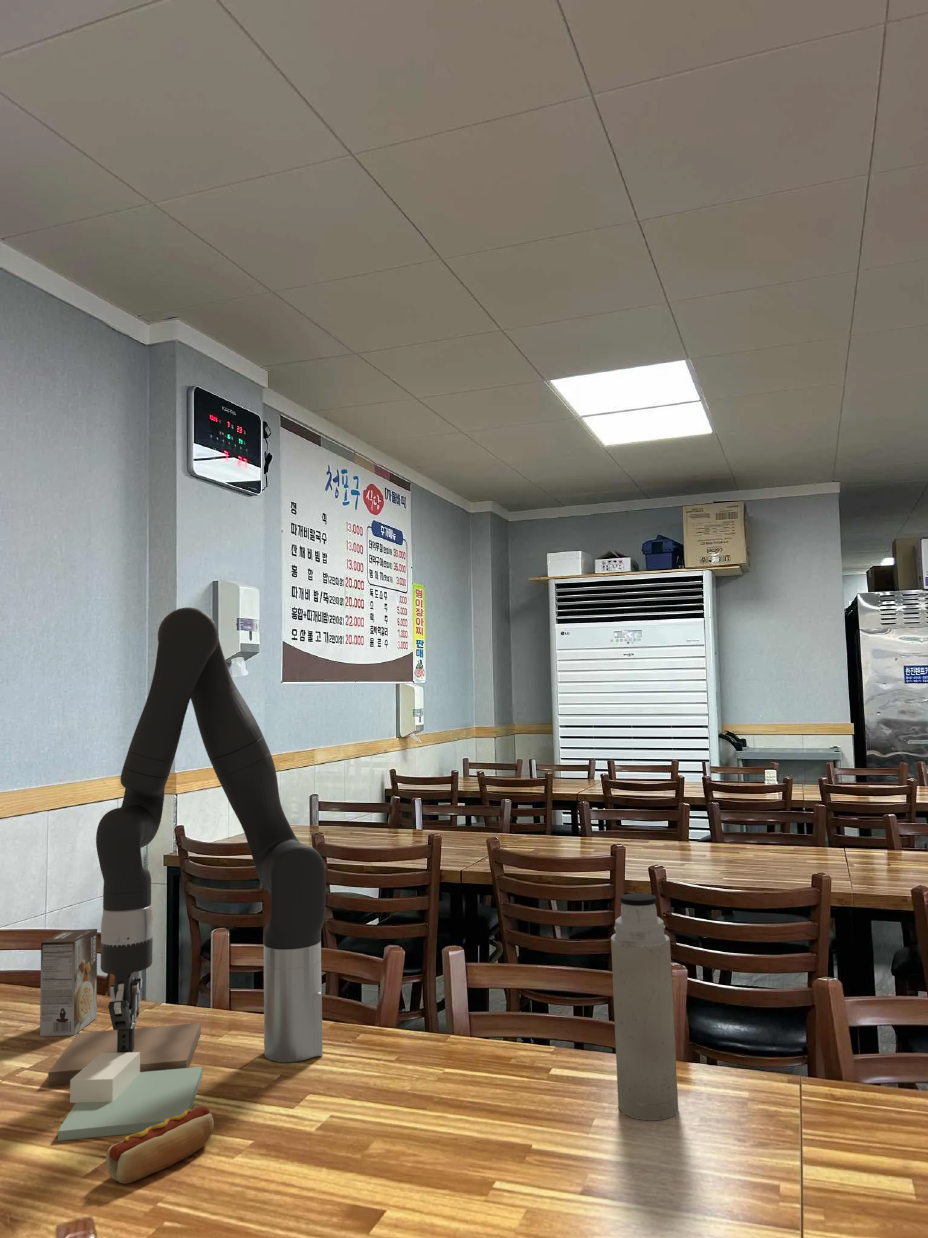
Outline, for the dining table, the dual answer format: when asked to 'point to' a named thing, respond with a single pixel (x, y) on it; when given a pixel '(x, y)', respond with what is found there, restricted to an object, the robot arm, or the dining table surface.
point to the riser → (153, 1043)
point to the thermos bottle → (643, 1011)
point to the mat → (135, 1105)
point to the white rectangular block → (105, 1077)
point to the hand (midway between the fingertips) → (125, 1053)
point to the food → (159, 1145)
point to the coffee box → (68, 982)
